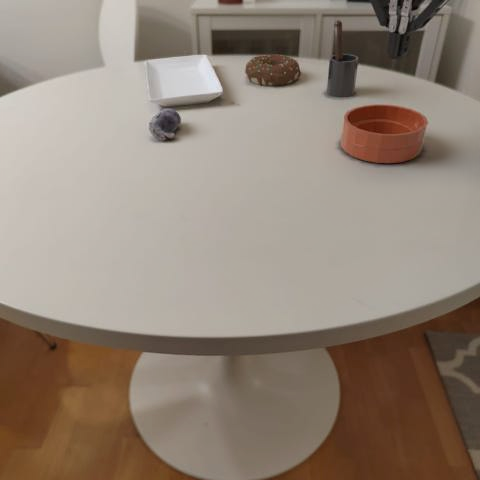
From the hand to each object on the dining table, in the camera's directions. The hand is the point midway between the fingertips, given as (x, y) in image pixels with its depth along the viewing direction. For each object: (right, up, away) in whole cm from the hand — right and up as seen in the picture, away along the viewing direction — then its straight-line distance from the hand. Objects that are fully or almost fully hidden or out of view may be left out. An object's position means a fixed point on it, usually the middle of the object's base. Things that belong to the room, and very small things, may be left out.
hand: (395, 57), depth 74 cm
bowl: (+1, -12, +10) cm, 15 cm away
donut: (-17, +15, +41) cm, 47 cm away
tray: (-39, +12, +40) cm, 57 cm away
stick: (-2, +8, +32) cm, 33 cm away
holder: (-2, +7, +32) cm, 33 cm away
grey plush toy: (-40, -6, +19) cm, 44 cm away
